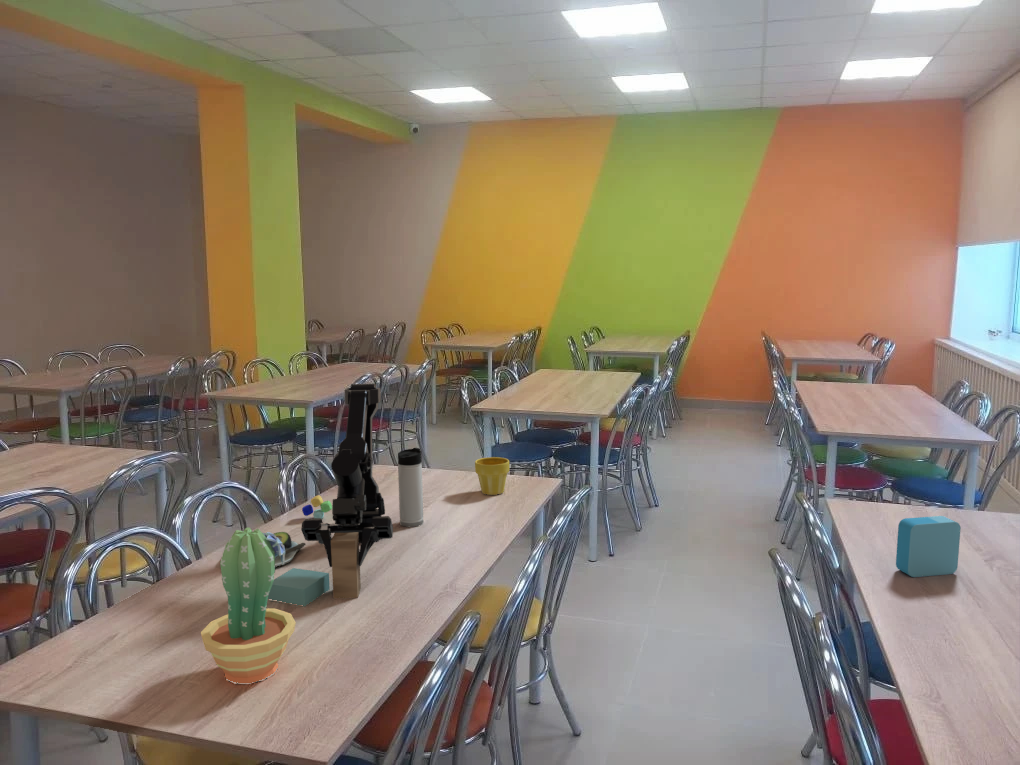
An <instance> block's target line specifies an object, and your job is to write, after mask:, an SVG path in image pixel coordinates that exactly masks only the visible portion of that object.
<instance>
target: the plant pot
mask: <svg viewBox="0 0 1020 765" xmlns="http://www.w3.org/2000/svg"><path fill="white" fill-rule="evenodd" d="M474 469H475V470H474V471H475V473H476V474H477V477H478V478H477V479H478V482H479V485H480V489H481V493H482V494H483V495H486V494H487V496H498V495H497V494H499V495H502V494H504V493H505V487H506V483H507V482H506V481H507V478H508V474H509V472H510V460H509V459H508V458H506V457H499V456H497V457H496V456H490V457H489V456H488V457H482V458H478V459H476V460H475V461H474ZM501 493H502V494H501Z"/></svg>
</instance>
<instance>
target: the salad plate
mask: <svg viewBox="0 0 1020 765" xmlns="http://www.w3.org/2000/svg"><path fill="white" fill-rule="evenodd" d="M273 534H274V535H275V536H276V537H278V538H279V540H280V541H281V542H282V544H283V545H284V548H285V562H284V565H286V564H288V563H290V562H291V561H292V560H293V559H294V557H295V556H296V555H297V553H298V552H299V551H300V550H301V549H302V548H303V547H305V546H306V542H300V543H298V542H296V541H293V540H292V537H291V535H290V534H289V533H288V532H286V531H279V532H275V533H274V532H273ZM296 552H297V553H296ZM280 565H282V561H281V556H279V555H278V556H277V557H275V568H278V567H277V566H279V567H281V566H280ZM282 566H283V565H282Z"/></svg>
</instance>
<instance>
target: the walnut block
mask: <svg viewBox="0 0 1020 765" xmlns="http://www.w3.org/2000/svg"><path fill="white" fill-rule="evenodd" d="M331 538H332V540H331V556H332V567H331V575H332V593H333V594H332V595H333V597H332V598H334V600H335V599H336V600H337V599H358V598H359V595H360V592H361V589H362V585H361V584H362V583H361V582H362V581H361V566H359V565H358V558H359V552H360V543H359V532H348V533H333V535H332V537H331Z"/></svg>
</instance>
